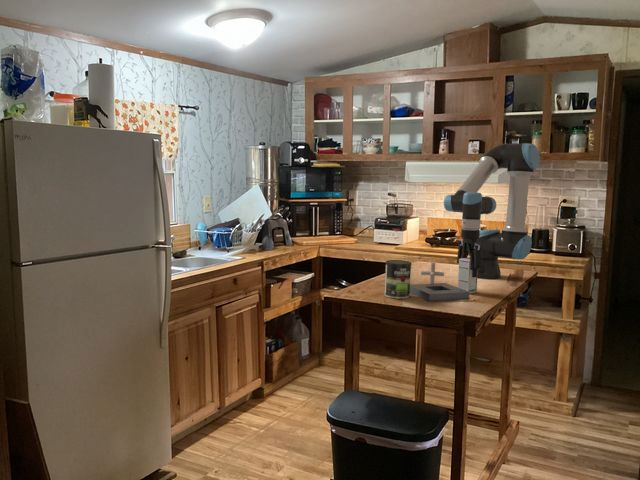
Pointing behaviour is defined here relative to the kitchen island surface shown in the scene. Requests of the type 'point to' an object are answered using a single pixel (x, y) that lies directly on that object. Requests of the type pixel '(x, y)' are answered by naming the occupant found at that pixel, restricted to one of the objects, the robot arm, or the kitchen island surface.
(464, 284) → the syrup box
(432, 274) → the pipe connector
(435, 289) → the square hole plate
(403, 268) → the coffee can
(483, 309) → the kitchen island surface
